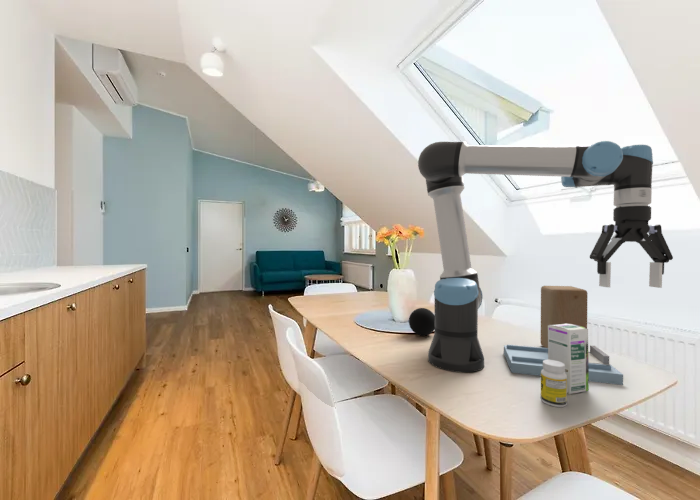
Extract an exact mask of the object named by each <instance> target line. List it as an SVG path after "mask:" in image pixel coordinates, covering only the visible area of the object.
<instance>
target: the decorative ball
mask: <svg viewBox="0 0 700 500" xmlns="http://www.w3.org/2000/svg"><path fill="white" fill-rule="evenodd" d="M408 325H409V328H410V329H411V331H413V333H414V334H416V335H418V336H428V335H431V334H432V333H433V332H435V313H434V312H432V311H431V310H430V309H428V308H424V307H419V308H416V309H414V310H413V311H412V312H411V313H410V315H409V318H408Z"/></svg>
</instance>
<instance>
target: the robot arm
mask: <svg viewBox="0 0 700 500" xmlns="http://www.w3.org/2000/svg"><path fill="white" fill-rule="evenodd" d="M653 158H654V157H653V149H652V147H651V146H650V145H648V144H633V145H627V146H622V147H621V146H620V145H619V144H617V143H616V142H613V141H610V140H603V141H602V140H601V141H598V142H595V143H592V144H591V145H472V144H471V145H469V144H467V141H436V142H433V143H430V144H429V145H427V146H425V148H423V149H422V151H421V152H420V154H419V157H418V161H417V166H418V167H417V168H418V171H419V173H420V175H421V176H422V177H423V178H424V179H425V185H426V190H427V195H428V196H429V197H430V198H431V199H432V200H433V206H434V214H435V220H436V227H437V233H438V241H439V246H440V248H439V249H440V254H441V261H442V267H443V271H442V272H441V274H440V275H439V280H437V281H436V282H435V284H434V291H433V296H434V315H435V329H434V334H433V337H432V340H431V343H430V346H429V349H428V352H427V354H428V355H427V360H428V362H429V364H431V365H432V366H434V367H437V369H438V368H439V369H441V370H445V371H449V372H458V373H471V372H477V371H480V370H482V369H483V368H484V367H485V356H484V353H483V350H482V347H481V344H480V341H479V338H478V336H479V335H478V325H479V323H478V321H479V320H478V319H479V318H478V314H479V313H478V311H479V309H480V307H481V306H482V302H483V291H482V289H481V287H480V281H479V276H478V275H479V273H478V271H476V270H475V269H474V268H473V266H472V263H471V256H470V255H471V254H470V251H469V243H468V235H467V229H466V224H465V217H464V210H463V203H462V197H461V194H462V192H463V191H464V190H465V182H464V177H463V176H464V175H465V174H466V175H467V174H469V175H470V174H472V175H474V174H475V175H499V176H500V175H503V176H504V175H505V176H506V175H510V176H531V177H532V176H535V177H536V176H537V177H539V176H540V177H560V178H561V179H560V180H561V181H560V182H561V185H562V187H564V188H582V187H595V186H596V187H597V186H613V206H614V208H613V213H612V214H613V221H614V222H615V224H612V223H610V224H609V223H607V224H603V225H602V227H601V233H600V235H599V237H598V239H597V240H596V242H595V245H594V247H593V249H592V250H591V253H590V255H589V259H591V260H593V261H595V262H596V263H597V265H596V266H597V267H596V268H597V269H596V271H597V274H598V275H599V282H598V284H599V285H598V286H599V287H603V288H611V273H612V272H611V271H612V270H611V269H612V267H611V266H612V263H611V261H610V262H609V260H610V259H611V257H612V256H613V255H614V254H615V253H616V252H617V250H619V248H620V247H621V246H622V245H623V244H625V243H626V242H628V243H629V242H630V243H632V242H633V243H634V242H635V243H637V244H639V245H640V246H641V248H642V249H643V250H644V252H645V253H646V254H647V255H648V256H649V258H650V259H651V260H652V261H650V262H649V274H648V275H649V281H648V284H649V285H648V286H649V287H650V288H660V289H662V288H663V275H664V274H665V263H666V264H667V263H669V262H670V261H673V259H674V256H673V255H672V252H671V250H670V248H669V245H668V243H667V241H666V239H665V236H664V235H663V232H662V225H661V224H650V225H649V222H650V220H651V219H652V206H650V204H652V193H653V192H652V190H653V189H652V188H653V187H652V185H653V184H652V180H653V164H654V159H653ZM614 233H615V234H614ZM613 234H614V235H613Z"/></svg>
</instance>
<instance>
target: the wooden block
mask: <svg viewBox="0 0 700 500" xmlns="http://www.w3.org/2000/svg"><path fill="white" fill-rule="evenodd" d="M566 323H567V324H573V325H578V326H581V327H585V328H587V329H588V291H587V290H586V289H583V288H579V287H575V286H572V285H543V286H542V285H541V287H540V345H541V346H542V348H548V326H549V325H558V324H566Z"/></svg>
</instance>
